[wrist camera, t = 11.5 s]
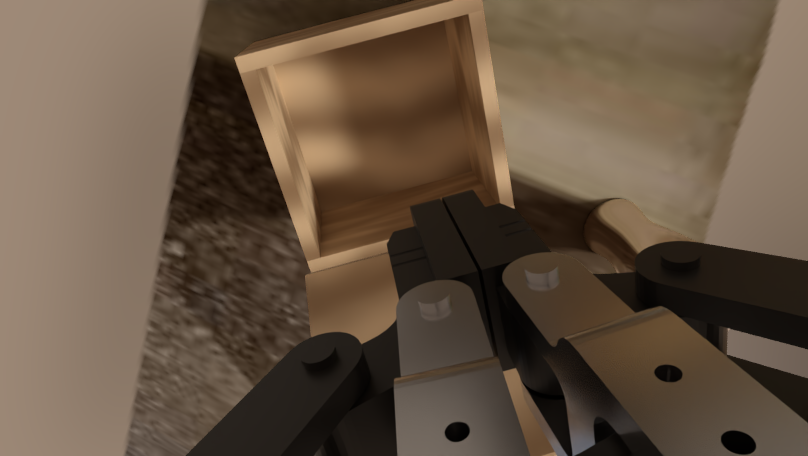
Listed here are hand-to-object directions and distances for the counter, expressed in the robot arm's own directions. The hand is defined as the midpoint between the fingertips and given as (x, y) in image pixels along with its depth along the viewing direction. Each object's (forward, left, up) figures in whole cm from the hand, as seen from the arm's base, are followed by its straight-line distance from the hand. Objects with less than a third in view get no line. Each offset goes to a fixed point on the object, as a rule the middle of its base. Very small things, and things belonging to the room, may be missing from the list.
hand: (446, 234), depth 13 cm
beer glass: (+22, +20, -35) cm, 46 cm away
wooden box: (+5, 0, -35) cm, 35 cm away
